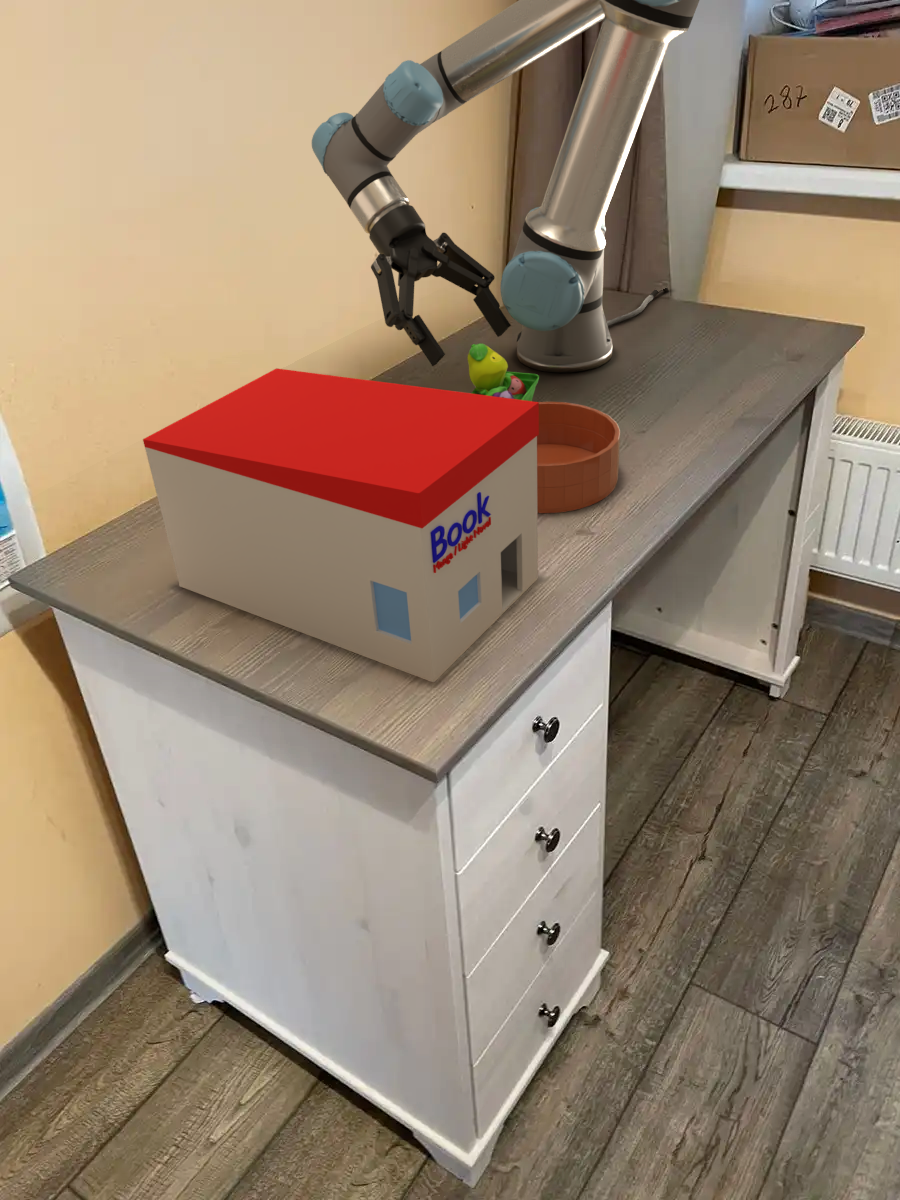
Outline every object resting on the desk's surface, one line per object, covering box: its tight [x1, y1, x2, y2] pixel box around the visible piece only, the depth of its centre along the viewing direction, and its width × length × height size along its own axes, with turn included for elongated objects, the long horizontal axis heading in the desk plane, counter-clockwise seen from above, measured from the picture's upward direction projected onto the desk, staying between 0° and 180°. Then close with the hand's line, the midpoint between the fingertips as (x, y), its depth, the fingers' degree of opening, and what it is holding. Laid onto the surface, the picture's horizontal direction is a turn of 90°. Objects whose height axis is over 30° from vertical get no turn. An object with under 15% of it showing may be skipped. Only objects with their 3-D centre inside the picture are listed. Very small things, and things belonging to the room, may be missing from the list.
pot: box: [537, 401, 621, 514], centre depth 129 cm, size 18×18×6 cm
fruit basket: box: [467, 342, 540, 401], centre depth 143 cm, size 11×9×11 cm
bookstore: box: [142, 367, 540, 683], centre depth 108 cm, size 21×35×21 cm, turn 57°
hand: (472, 345), depth 143 cm, fingers open, 13 cm apart
